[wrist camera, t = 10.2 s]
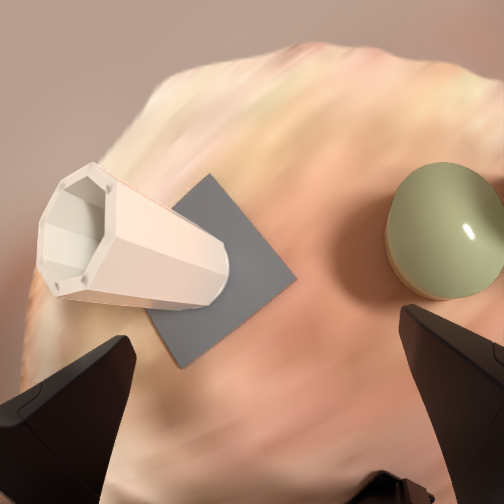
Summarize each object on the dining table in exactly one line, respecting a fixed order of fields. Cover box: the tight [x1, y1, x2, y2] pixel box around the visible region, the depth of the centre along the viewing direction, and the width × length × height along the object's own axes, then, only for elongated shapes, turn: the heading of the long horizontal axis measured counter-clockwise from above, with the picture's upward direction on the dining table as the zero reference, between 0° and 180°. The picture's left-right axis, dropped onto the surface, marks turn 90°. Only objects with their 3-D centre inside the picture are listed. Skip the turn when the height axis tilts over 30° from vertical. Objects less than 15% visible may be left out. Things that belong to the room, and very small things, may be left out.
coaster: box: [145, 173, 297, 369], centre depth 25 cm, size 12×12×1 cm
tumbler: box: [37, 162, 230, 311], centre depth 19 cm, size 6×6×13 cm
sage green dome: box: [384, 162, 504, 300], centre depth 18 cm, size 9×9×4 cm
